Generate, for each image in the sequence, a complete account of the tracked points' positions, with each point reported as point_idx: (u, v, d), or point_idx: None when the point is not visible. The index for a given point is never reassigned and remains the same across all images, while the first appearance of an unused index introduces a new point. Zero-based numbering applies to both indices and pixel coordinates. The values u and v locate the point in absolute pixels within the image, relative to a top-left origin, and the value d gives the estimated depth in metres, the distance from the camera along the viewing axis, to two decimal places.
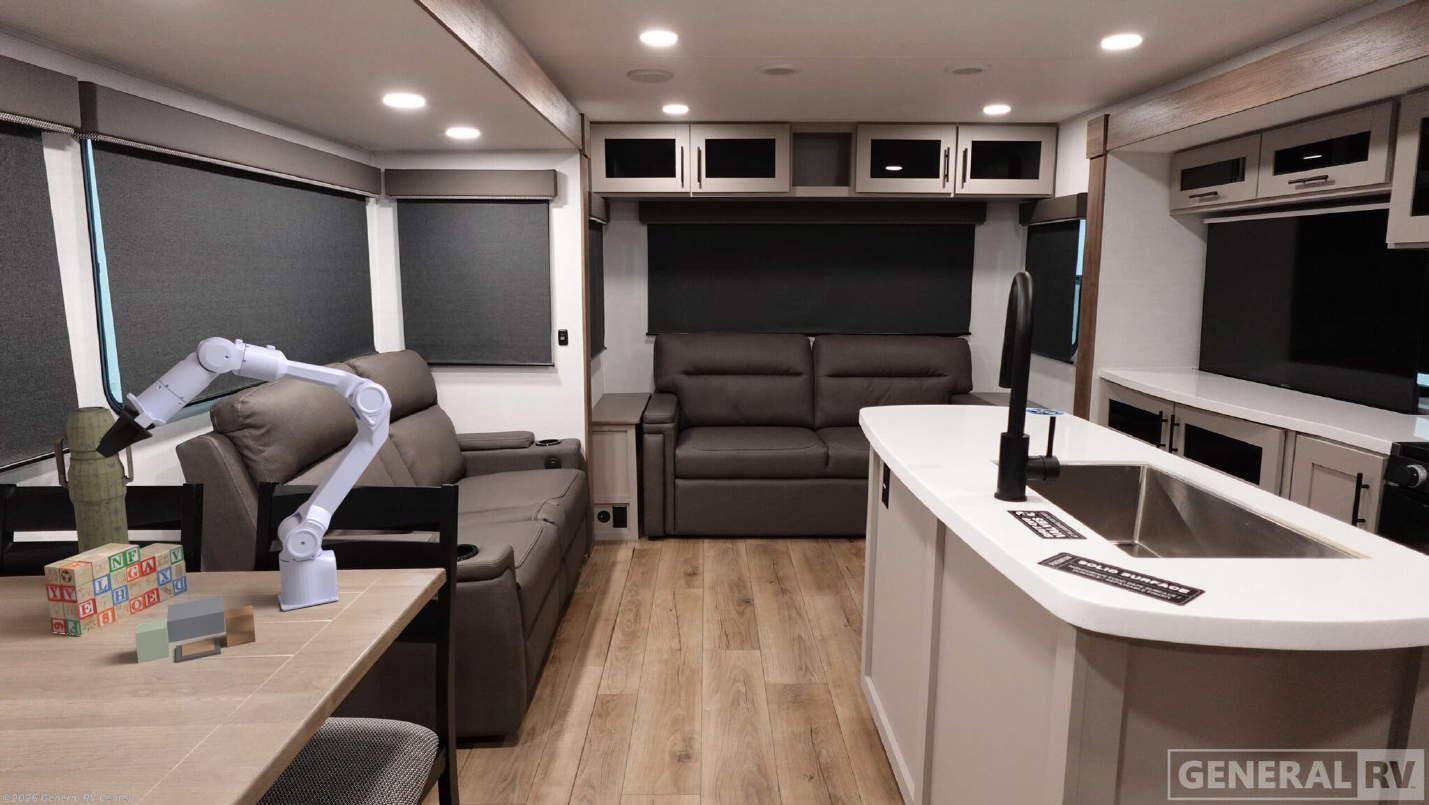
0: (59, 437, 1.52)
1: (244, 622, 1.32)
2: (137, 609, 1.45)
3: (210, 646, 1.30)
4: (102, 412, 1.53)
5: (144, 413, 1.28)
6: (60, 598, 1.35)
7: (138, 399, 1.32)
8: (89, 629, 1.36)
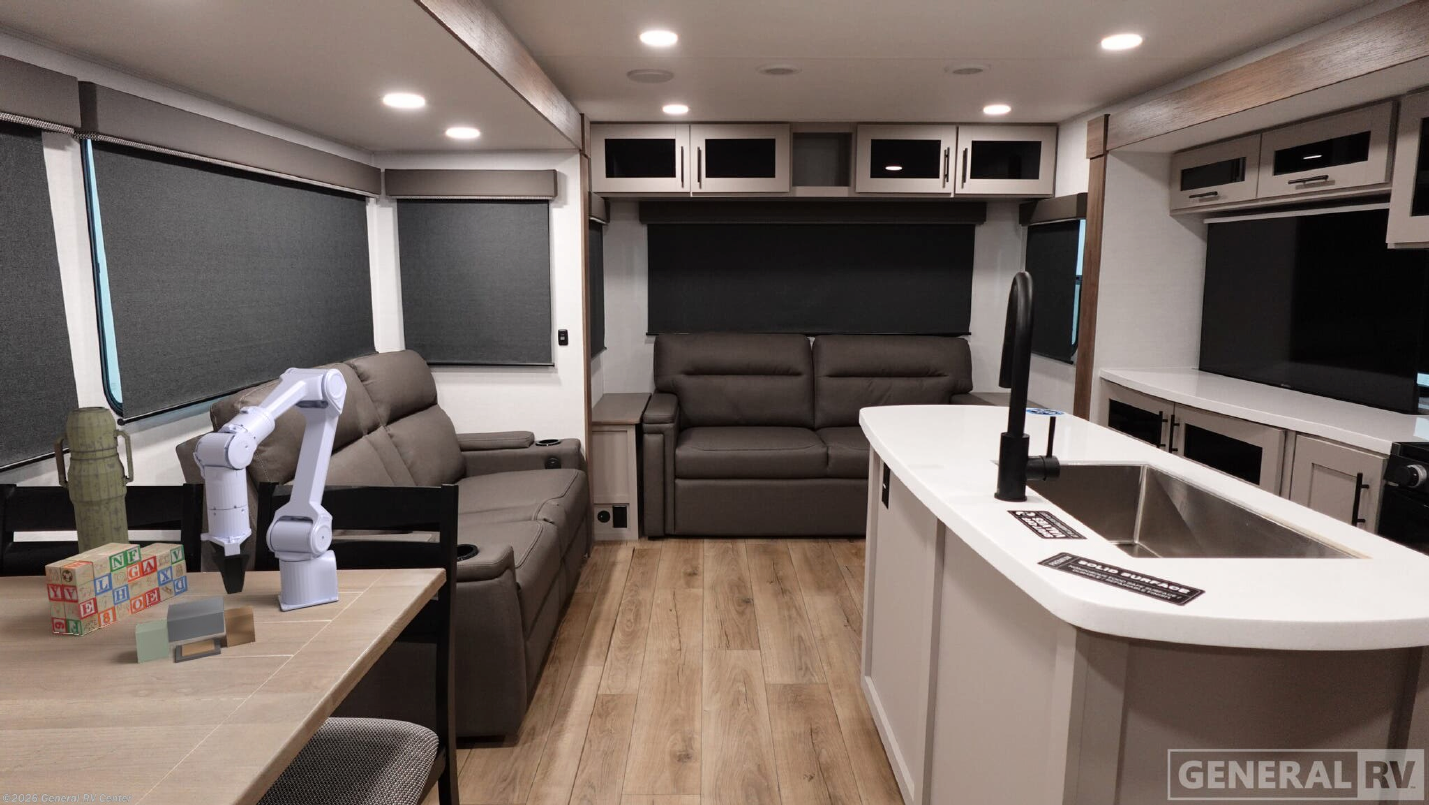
0: (59, 437, 1.52)
1: (244, 622, 1.32)
2: (138, 609, 1.45)
3: (210, 646, 1.30)
4: (102, 412, 1.53)
5: (226, 545, 1.25)
6: (61, 598, 1.35)
7: (211, 534, 1.29)
8: (90, 629, 1.36)
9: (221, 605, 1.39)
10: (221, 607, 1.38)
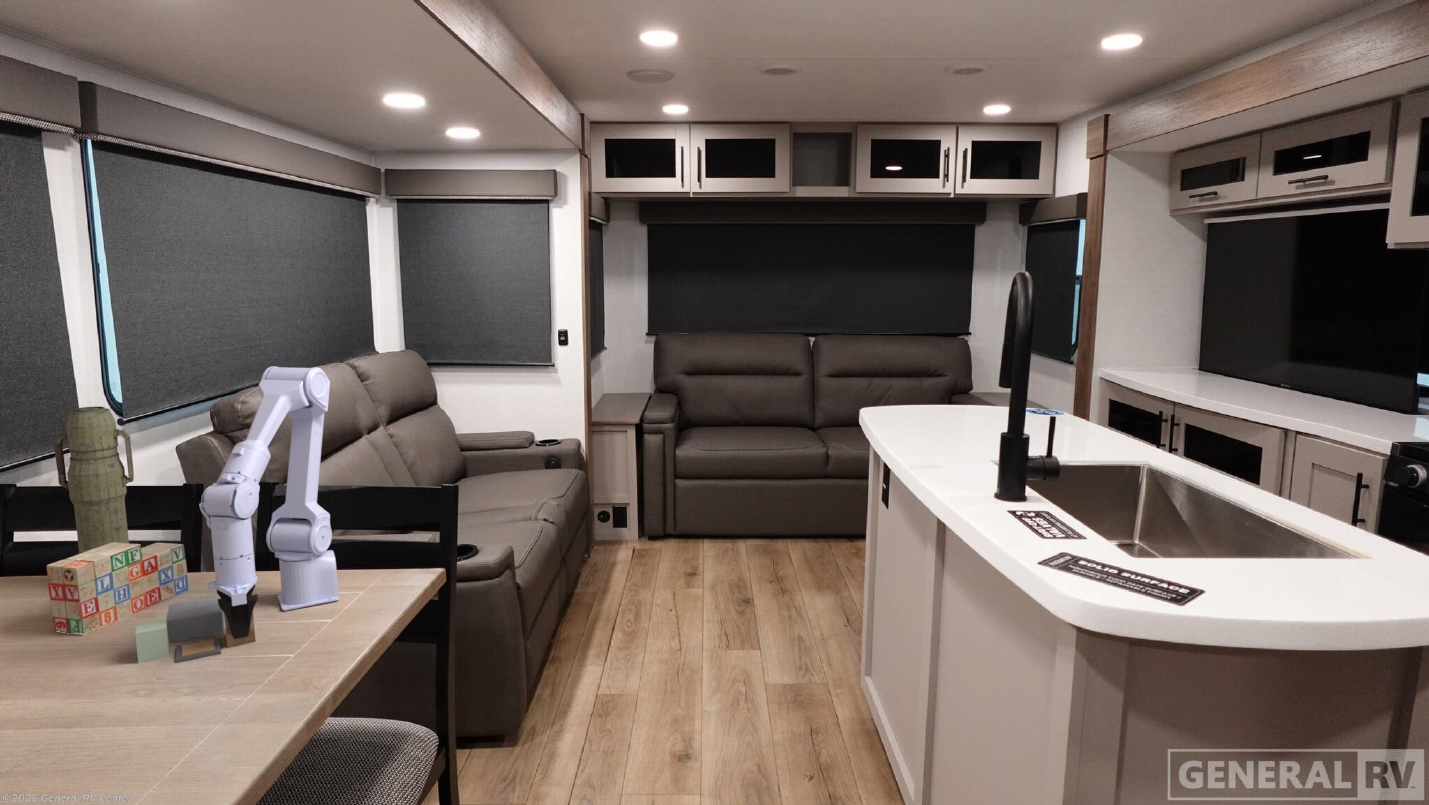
0: (59, 437, 1.52)
1: None
2: (139, 608, 1.45)
3: (210, 646, 1.30)
4: (102, 412, 1.53)
5: (233, 595, 1.26)
6: (62, 597, 1.35)
7: (218, 583, 1.30)
8: (91, 628, 1.37)
9: None
10: None
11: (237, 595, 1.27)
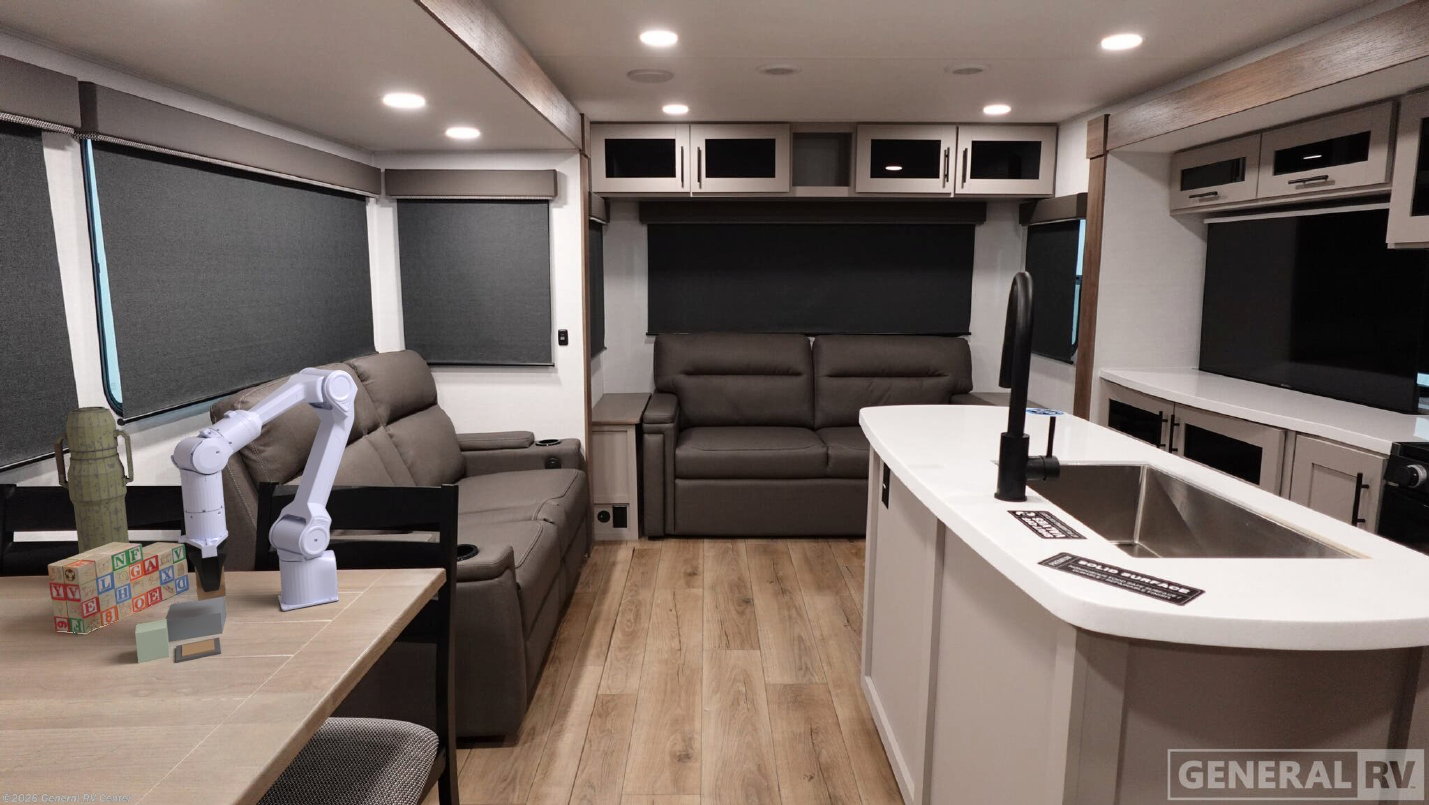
0: (59, 437, 1.52)
1: None
2: (140, 608, 1.46)
3: (210, 646, 1.30)
4: (102, 412, 1.53)
5: (203, 547, 1.28)
6: (63, 597, 1.35)
7: (188, 536, 1.32)
8: (92, 627, 1.37)
9: (221, 606, 1.39)
10: (220, 608, 1.38)
11: (207, 547, 1.28)
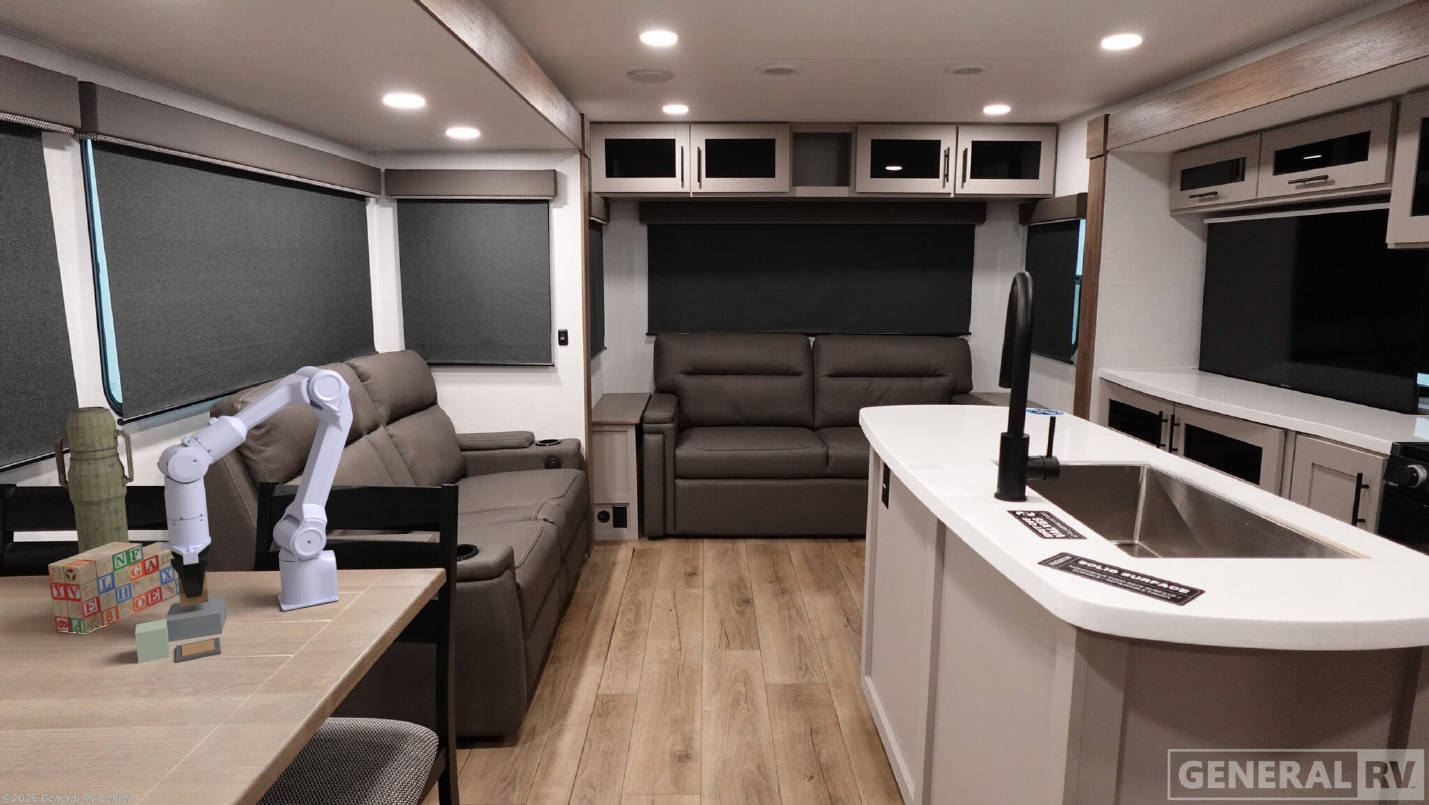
0: (59, 437, 1.52)
1: None
2: (140, 607, 1.46)
3: (210, 646, 1.30)
4: (102, 412, 1.53)
5: (184, 554, 1.30)
6: (64, 597, 1.35)
7: (171, 543, 1.34)
8: (93, 627, 1.37)
9: (220, 606, 1.39)
10: (220, 608, 1.38)
11: (188, 554, 1.30)
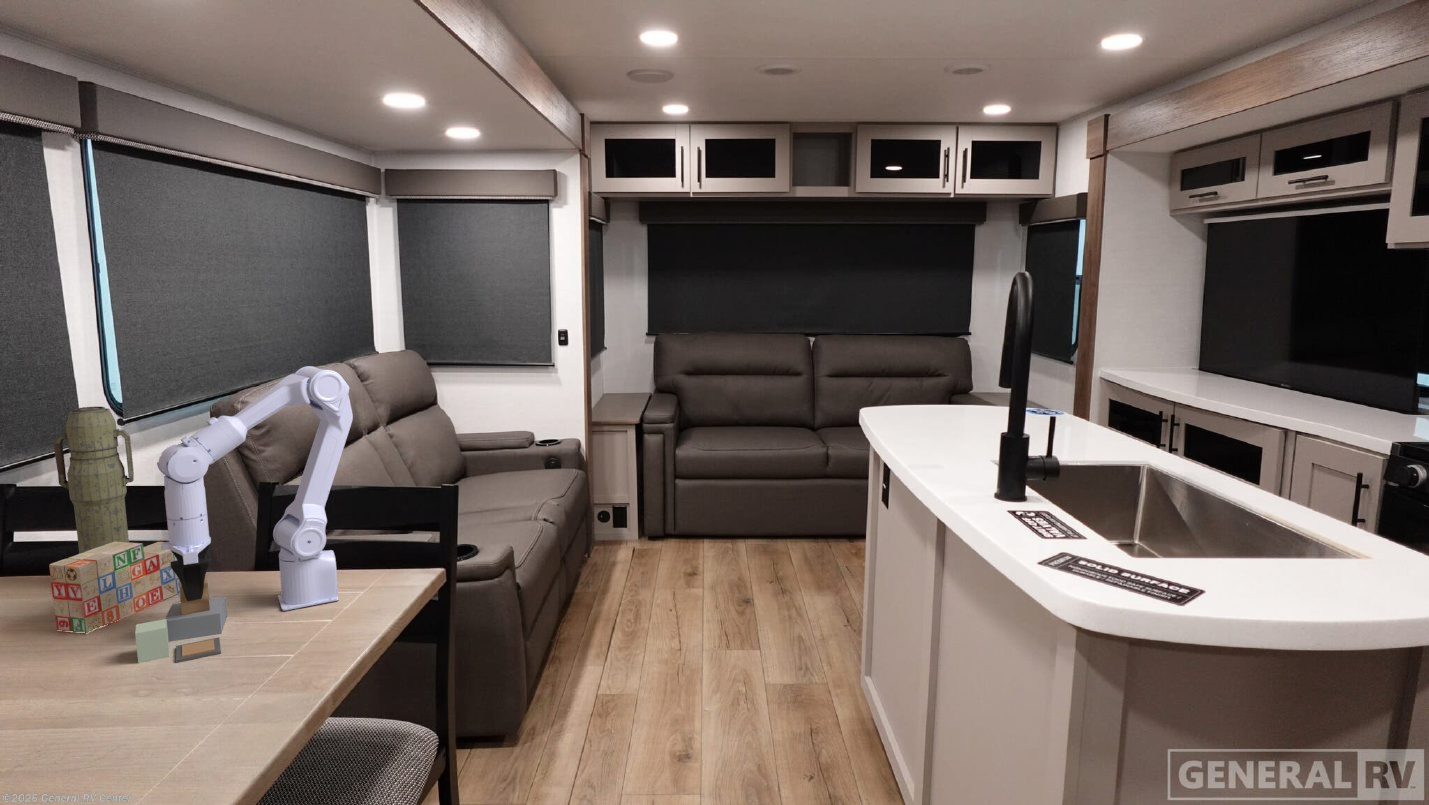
0: (59, 437, 1.52)
1: None
2: (141, 607, 1.46)
3: (210, 646, 1.30)
4: (102, 412, 1.53)
5: (184, 554, 1.30)
6: (65, 596, 1.36)
7: (171, 543, 1.34)
8: (94, 627, 1.37)
9: (220, 606, 1.39)
10: (220, 608, 1.38)
11: (188, 554, 1.30)
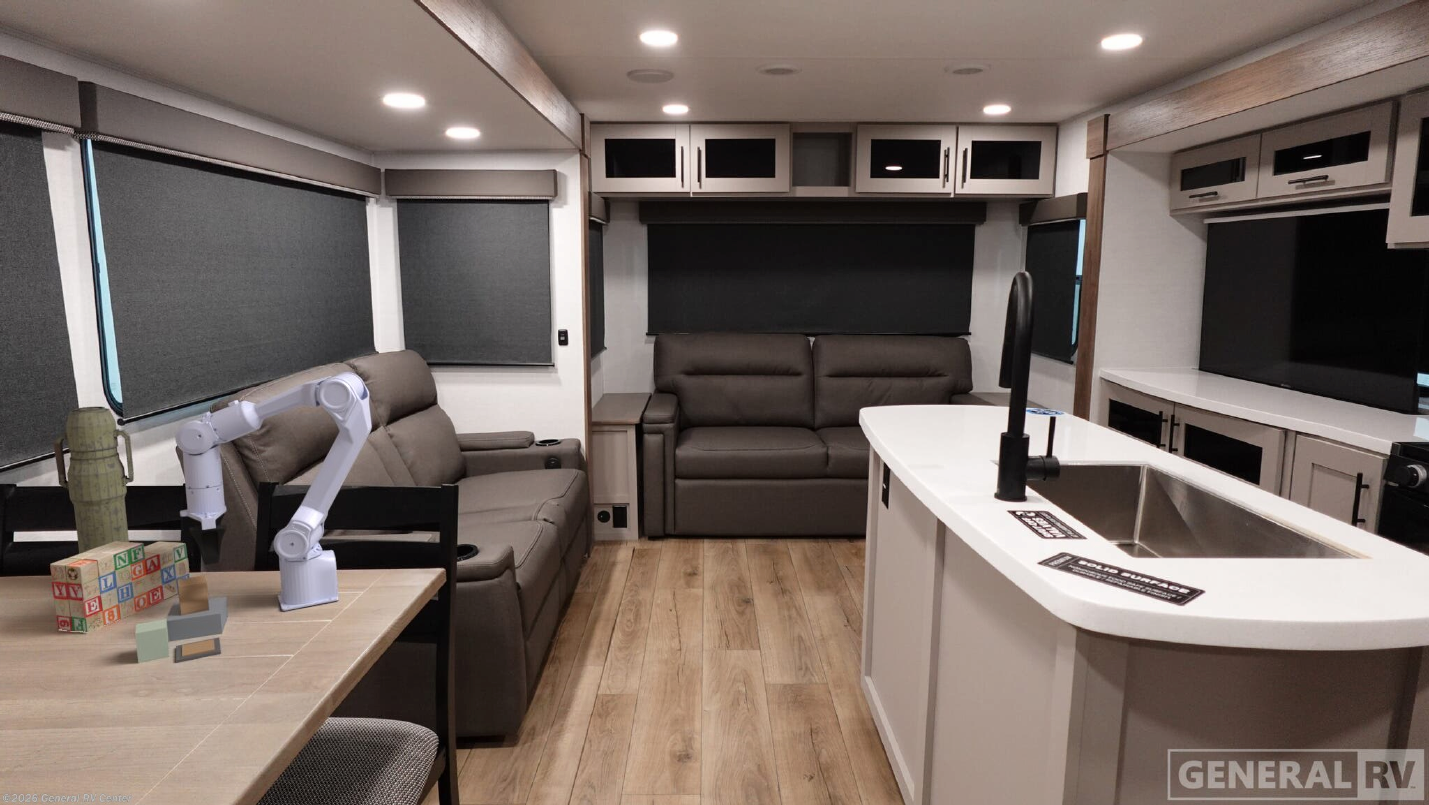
0: (59, 437, 1.52)
1: (198, 590, 1.36)
2: (142, 607, 1.46)
3: (210, 646, 1.30)
4: (102, 412, 1.53)
5: (203, 520, 1.39)
6: (66, 596, 1.36)
7: (189, 510, 1.43)
8: (95, 626, 1.37)
9: (221, 606, 1.39)
10: (220, 608, 1.38)
11: (207, 520, 1.39)
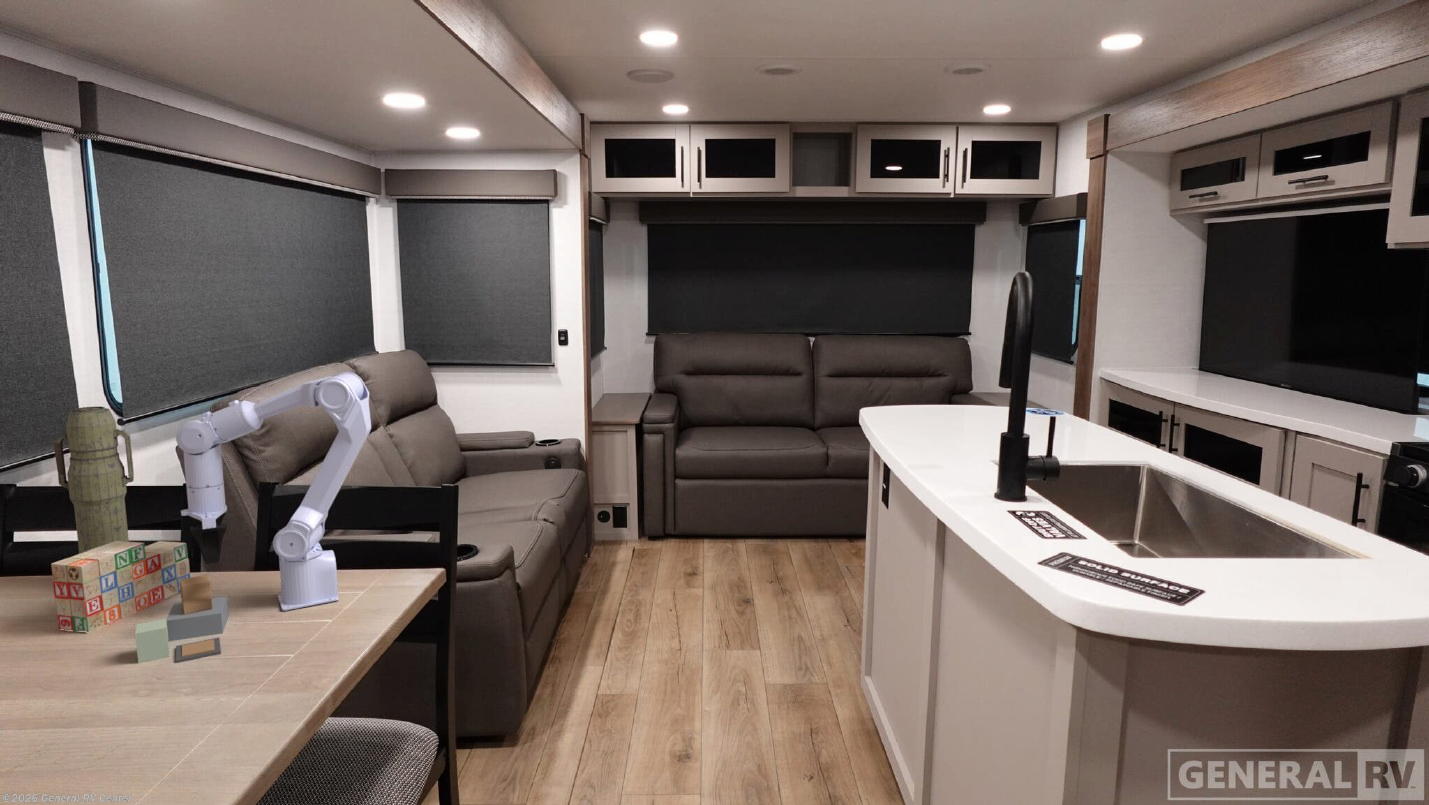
0: (59, 437, 1.52)
1: (201, 589, 1.36)
2: (142, 606, 1.46)
3: (210, 646, 1.30)
4: (102, 412, 1.53)
5: (203, 519, 1.39)
6: (67, 596, 1.36)
7: (190, 510, 1.43)
8: (96, 626, 1.37)
9: (222, 606, 1.39)
10: (221, 608, 1.38)
11: (207, 519, 1.40)
